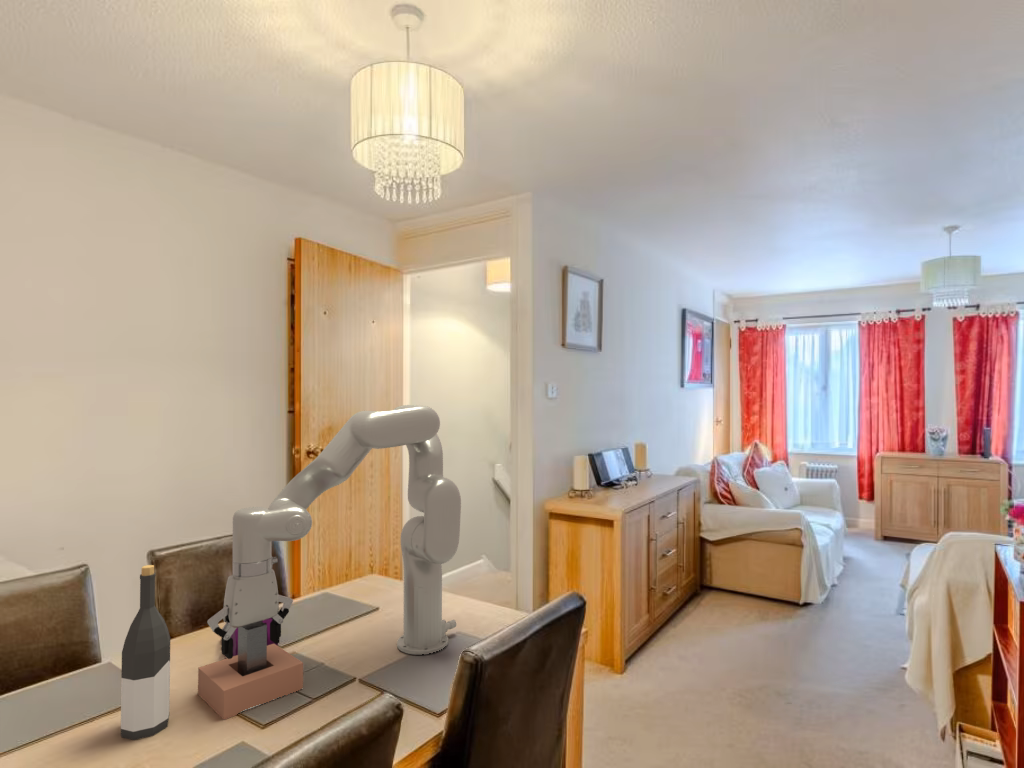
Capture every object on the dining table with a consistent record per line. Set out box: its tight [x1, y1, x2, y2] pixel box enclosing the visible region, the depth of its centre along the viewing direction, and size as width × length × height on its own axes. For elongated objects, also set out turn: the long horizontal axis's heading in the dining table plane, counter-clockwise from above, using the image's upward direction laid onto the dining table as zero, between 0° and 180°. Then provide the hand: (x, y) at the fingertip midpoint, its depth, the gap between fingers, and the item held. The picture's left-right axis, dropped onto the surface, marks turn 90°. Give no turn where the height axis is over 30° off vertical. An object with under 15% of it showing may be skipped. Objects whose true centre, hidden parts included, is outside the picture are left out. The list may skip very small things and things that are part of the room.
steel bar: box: [238, 621, 267, 676], centre depth 121 cm, size 4×5×14 cm
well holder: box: [197, 644, 304, 721], centre depth 121 cm, size 16×14×6 cm
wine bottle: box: [120, 564, 171, 741], centre depth 108 cm, size 8×8×30 cm
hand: (252, 649), depth 121 cm, fingers open, 9 cm apart
